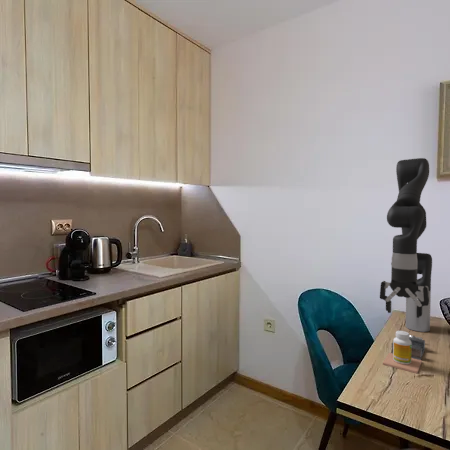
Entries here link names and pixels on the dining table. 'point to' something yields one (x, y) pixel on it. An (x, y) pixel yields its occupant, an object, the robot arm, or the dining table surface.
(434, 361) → the dining table surface
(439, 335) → the dining table surface
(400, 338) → the supplement bottle
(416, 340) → the bench vise
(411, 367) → the terracotta tile
